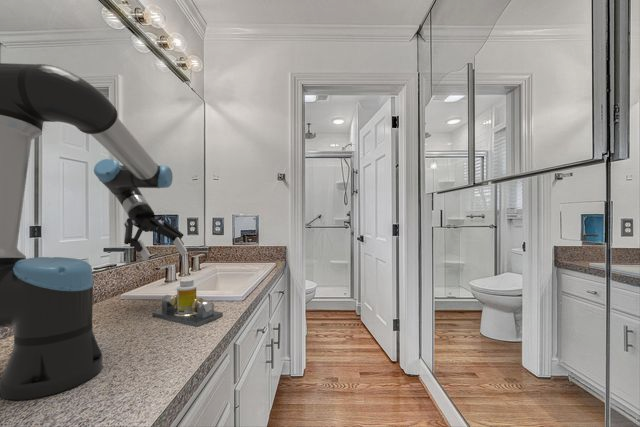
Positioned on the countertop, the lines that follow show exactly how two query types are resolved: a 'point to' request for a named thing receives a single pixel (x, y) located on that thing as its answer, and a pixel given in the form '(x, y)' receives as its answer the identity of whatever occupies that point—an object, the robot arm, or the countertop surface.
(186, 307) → the supplement bottle
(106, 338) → the countertop surface
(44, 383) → the robot arm
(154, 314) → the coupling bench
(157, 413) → the countertop surface
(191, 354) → the countertop surface
